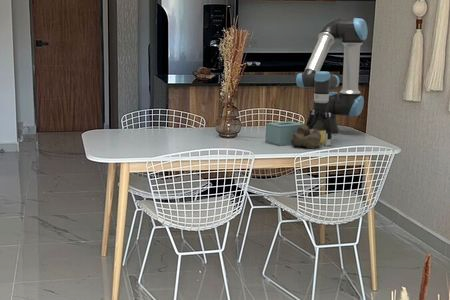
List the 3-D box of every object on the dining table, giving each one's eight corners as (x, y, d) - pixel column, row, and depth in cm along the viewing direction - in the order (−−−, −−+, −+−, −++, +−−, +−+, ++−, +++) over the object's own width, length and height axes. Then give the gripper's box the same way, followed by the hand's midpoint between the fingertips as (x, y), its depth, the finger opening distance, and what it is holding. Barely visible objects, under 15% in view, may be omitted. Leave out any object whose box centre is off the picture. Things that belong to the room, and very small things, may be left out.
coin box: (289, 139, 318) (290, 121, 316) (304, 143, 308) (304, 124, 306) (265, 142, 309) (265, 123, 307) (279, 145, 299) (280, 126, 297)
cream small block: (321, 143, 310) (322, 129, 308) (325, 143, 308) (325, 130, 306) (313, 144, 306) (313, 130, 305) (316, 144, 304) (317, 131, 303)
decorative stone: (306, 139, 286) (288, 123, 297) (300, 158, 292) (283, 142, 302) (331, 135, 294) (313, 120, 305) (325, 153, 300) (307, 138, 310)
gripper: (299, 100, 311) (298, 140, 315) (332, 104, 291) (330, 147, 295) (310, 99, 315) (309, 139, 319) (343, 104, 295) (341, 146, 299)
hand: (319, 143), depth 307 cm, fingers open, 12 cm apart
